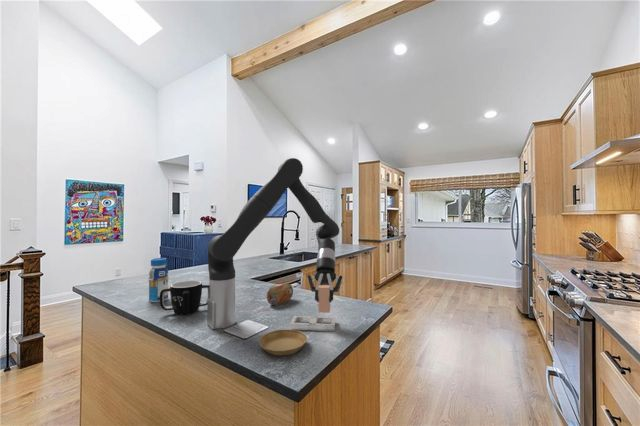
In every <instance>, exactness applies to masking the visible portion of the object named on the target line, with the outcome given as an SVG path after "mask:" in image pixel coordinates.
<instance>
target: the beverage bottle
mask: <svg viewBox="0 0 640 426" xmlns="http://www.w3.org/2000/svg"><path fill="white" fill-rule="evenodd" d="M167 264H168V260H167V258H166V257H159V258H158V257H156V258H151V259H150V266H151V268H150V270H149V271H148V275H149V277H148V301H149V302H151V303H160V292H161V291H162V290H163V289H168V288H169V278H170V276H169V270H168V268H167ZM168 299H169V292H164V300H165V301H167V300H168Z"/></svg>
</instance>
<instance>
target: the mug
mask: <svg viewBox="0 0 640 426" xmlns="http://www.w3.org/2000/svg"><path fill="white" fill-rule="evenodd" d="M169 286H170V287H168V289H163V290H162V291H161V292H160V302H159V304H160V307H161V309H162V310H163V311H172V310H173V311H172V312H173V313H174V314H175V315H177V316H185V315H186V316H187V315H192V314H194V313H196V312H198V310H200V309H199V308H200V307H205V306H207V300H208V299H209V284H203V282H202V281H200V280H183V281H178V282H174V283H172V284H170V285H169ZM203 289H207V299H206V301H204V302H201V301H202V300H201V299H202V295H203V294H202V293H203V292H202V291H203ZM164 292H168V293H169V292H170V301H171V306H166V304H165V301H164Z"/></svg>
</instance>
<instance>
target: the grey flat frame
mask: <svg viewBox="0 0 640 426" xmlns="http://www.w3.org/2000/svg"><path fill="white" fill-rule="evenodd" d="M289 329H290V330H296V331H318V332H319V331H321V332H326V331H327V332H335V331H336V316H318V315H317V316H315V315H314V316H313V315H311V316H310V315H293V317H292V319H291V321H290V322H289Z"/></svg>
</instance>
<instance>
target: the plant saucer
mask: <svg viewBox="0 0 640 426" xmlns="http://www.w3.org/2000/svg"><path fill="white" fill-rule="evenodd" d="M307 340H308V337H307V335H306V334H305V333H304V332H303V331H301V330H290V328H289V329H288V328H287V329H284V328H283V329H277V330H272V331H269V332H267V333H265V334H263V335H262V336H260V338H259V339H258V344H259V345H260V347H261V348H262V350H264V351H265V352H267V354H270V355H272V356H273V355H274V356H281V357H282V356H289V355H292V354H295V353H297V352H298V351H300V350H301V349H302V348H303V347H304V346H305V345H306V343H307Z"/></svg>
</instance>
